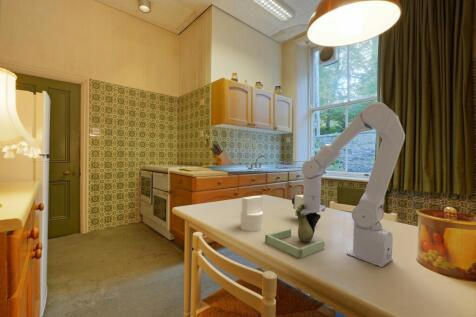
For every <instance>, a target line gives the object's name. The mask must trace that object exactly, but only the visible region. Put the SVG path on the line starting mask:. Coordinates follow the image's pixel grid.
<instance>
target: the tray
mask: <svg viewBox="0 0 476 317" xmlns="http://www.w3.org/2000/svg"><path fill="white" fill-rule="evenodd" d="M264 236H265V237H264V242H265V243H266V244H269V245H271V246H272V247H275V248H277V249H278V250H281V251H282V252H285V253H287V254H289V255H290V256H291V255H292V256H293V257H295V258H298V259H303V258H305V257H308V256H310V255H312V254H315V253H317V252H319V251H322V250H323V249H325V241H324V240H323V239H322V240H320V239H319V240H318V241H315V242H313V243H312V242H311V243H310V244H307V245H304V246H302V247H298V246H295V245H293V244H290V243H289V242H286V241H284V240H282V239H285V238H288V237H292V228H285V229H283V230H279V231H274V232H272V233H268V234H267V233H266V234H264Z"/></svg>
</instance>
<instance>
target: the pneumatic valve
mask: <svg viewBox="0 0 476 317" xmlns="http://www.w3.org/2000/svg"><path fill="white" fill-rule="evenodd" d="M291 204H292V205H293V209H294V210H295V211H296V210H297V209H298V206H300V205H301V204H303V194H294V195H293V197H292V199H291Z"/></svg>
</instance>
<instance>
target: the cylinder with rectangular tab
mask: <svg viewBox="0 0 476 317" xmlns="http://www.w3.org/2000/svg"><path fill="white" fill-rule="evenodd" d="M239 226H240V229H242V230H244V231H249V232H257V231H261V230H263V229H264V211H263V196H261V195H253V196H246V197H241V211H240V225H239Z"/></svg>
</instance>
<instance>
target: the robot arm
mask: <svg viewBox="0 0 476 317" xmlns="http://www.w3.org/2000/svg"><path fill="white" fill-rule="evenodd" d="M373 130H375V131H376V133H377V134H378V136H379V137H380V138H381V143H380V146H379V149H378V151H377V154H376V157H375V161H374V163H373V166H372V169H371V172H370V176H369V178H368V181H367V184H366V186H365V191H364V193H363V195H362V196H361V198H360V199H359V202H358V204H357V205H356V206H355V207H354V208H353V209H352V211H351V218H352V220H353V234H352V235H353V239H352V249H351V250H349V251H346V255H347V256H352V257H354V258H357V259H360V260H361V261H365V262H367V263H370V264H372V265H376V266H378V267H380V268H383V267H384V266H386V265H387V264H389V263H390V262H392V261H393V260H394V258H393V246H394V245H393V243H394V242H393V241H394V238H393V233H392V232H391V231H388V230H385V229H384V228H383V225H382V222H381V221H382V219H383V218H384V215H385V212H384V211H385V210H384V204H385V196H386V195H387V190H388V188H389V185H390V182H391V179H392V176H393V173H394V171H395V167H396V165H397V162H398V159H399V156H400V154H401V151H402V147H403V145H404V143H405V139H406V134H405V131H404V128H403V126H402V124H401V121H400V117H399V115H398V114H396V112H394V111H393V109H392V108H389V107H388V105H387V104H385V103H383V102H380V101H373V102H370V103H369V104H367V105H365V107H364V108H363V110H361V111H359V112H358V113H356V115H355V116H354V118H353V120H352V121H351V122H350V123H349V124H347V126H346V127H345V129H344V130H343V131H342V132H340V133H339V135H338V136H337V137H336V138H335V140H333V141H332V143H325V144H324V145H321V146H320V148H319V149H320V150H319V151H318V152H317V153H316V154H315V155H314V156H311V157H310V160H305V161H304V162H303V164H302V166H301V174H302V175H303V193H302V195H303V204H304V207H305V209H302V211H301V215H302V213H303V214H304V215H306V218H307V220H308V222H309V224H310V226H311V228H312V231H313V236H314V235H315V230H316V226H317V224H318V222H319V220H320V219H321V214H320V213H321V212H323V213H324V212H326V208H327V207H326V205H322V204H321V194H322V176H324V174H325V171H326V170H327V169H328V168H329V167H330V166H331V165H332V164H333V163H334V162H335V161H336V160H337V159H338V158H340V156H341V150H343V149H344V147H346V146H347V145H348V144H349V143H350V142H351V141H352V140H354V139H355V138H356V137H357V136H358V135H359V134H360V133H364V132H369V131H373ZM294 212H295V217H297V213H296V210H295V211H294Z"/></svg>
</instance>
